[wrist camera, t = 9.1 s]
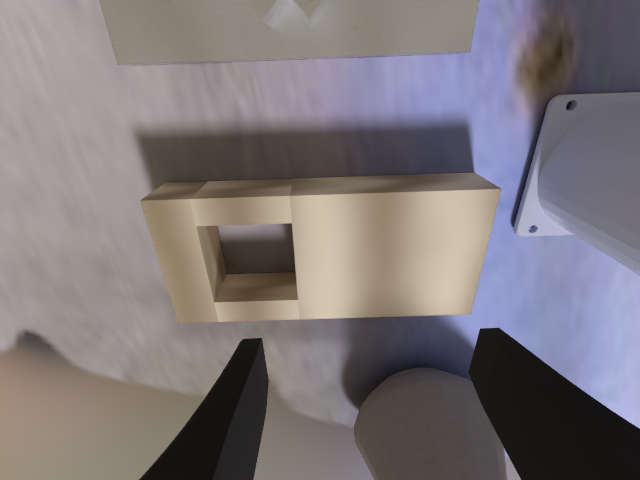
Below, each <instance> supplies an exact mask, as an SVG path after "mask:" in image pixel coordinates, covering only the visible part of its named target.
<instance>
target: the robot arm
mask: <svg viewBox="0 0 640 480" xmlns="http://www.w3.org/2000/svg"><path fill="white" fill-rule="evenodd" d="M570 101H571V102H572V103H571V106H570V108H569V109H568V110H567V109H566V105H567V104H568V102H570ZM533 225H534V227H533V228H532V229H531V230H529V228H530V227H531V226H533ZM514 232H515V233H516V234H517V235H519V236H550V235H575V236H577V237H579V238H580V239H582V240H584V241H585V242H587V243H588V244H590V245H592V246H593V247H595V248H596V249H598V250H600V251H601V252H603V253H604V254H606V255H608V256H609V257H611V258H613V259H614V260H616V261H617V262H619V263H621V264H622V265H624V266H625V267H627V268H629V269H630V270H632V271H633V272H635V273H637V274H638V275H640V92H625V93H597V94H568V95H557V96H555V97H554V98H552V99H551V100H550V102H549V104H548V106H547V109H546V113H545V117H544V120H543V124H542V127H541V131H540V135H539V138H538V142H537V145H536V149H535V153H534V156H533V160H532V163H531V167H530V171H529V174H528V178H527V181H526V185H525V189H524V192H523V196H522V199H521V203H520V207H519V210H518V214H517V217H516V221H515V224H514ZM469 374H470V377H471V379H472V382H473V385H474V388H475V390H476V393H477V395H478V398H479V400H480V402H481V405H482V407H483V409H484V410H485V412H486V414H487V416H488V418H489V420H490V422H491V424H492V426H493V428H494V430H495V431H496V433H497V435H498V437H499V439H500V441H501V443H502V444H503V446H504V448H505V450H506V452H507V454H508V456H509V458H510V459H511V461H512V463H513V465H514V467H515V469H516V470H517V473H518V474H519V476H520V478H521V480H640V429H639V428H638V427H636V426H634V425H633V424H631V423H630V422H628V421H627V420H625V419H624V418H622V417H620V416H619V415H617V414H616V413H614V412H613V411H611V410H610V409H608V408H607V407H606V406H604V405H603V404H601V403H600V402H598V401H597V400H595V399H594V398H592V397H591V396H590V395H588V394H587V393H585V392H584V391H582V390H581V389H580V388H578V387H577V386H575V385H574V384H573V383H571V382H570V381H569V380H567V379H566V378H564V377H563V376H562V375H560V374H559V373H558V372H556V371H555V370H554V369H552V368H551V367H550V366H548V365H547V364H546V363H544V362H543V361H542V360H541V359H539V358H538V357H537V356H535V355H534V354H533V353H531V352H530V351H529V350H527V349H526V348H525V347H524V346H522V345H521V344H520V343H518V342H517V341H516V340H514V339H513V338H512V337H510V336H509V335H508V334H506V333H505V332H504V331H502V330H501V329H499V328H485V329H480V331H479V335H478V339H477V343H476V347H475V350H474V354H473V358H472V362H471V365H470V369H469ZM268 382H269V381H268V374H267V368H266V361H265V355H264V349H263V342H262V338H253V339H243V340H242V341H241V342H240V343H239V345H238V347H237V349H236V350H235V352H234V354H233V356H232V357H231V359H230V361H229V362H228V364H227V365H226V367H225V369H224V370H223V372H222V373H221V375H220V377H219V378H218V380H217V381H216V383H215V384H214V385H213V387H212V388H211V390H210V391H209V393H208V394H207V396H206V397H205V399H204V400H203V402H202V403H201V405H200V406H199V407H198V409H197V410H196V411H195V412H194V414H193V415H192V417H191V418H190V419H189V421H188V422H187V423H186V425H185V426H184V427H183V429H182V430H181V431H180V432H179V434H178V435H177V436H176V438H175V439H174V440H173V441H172V442H171V444H170V445H169V446H168V448H167V449H166V450H165V451H164V452H163V454H161V456H160V457H159V458H158V459H157V460H156V462H155V463H154V464H153V465H152V466H151V467H150V468H149V470H148V471H147V472H146V473H145V474H144V475H143V476H142V477H141V478H140V479H139V480H253V478H254V473H255V468H256V463H257V457H258V452H259V447H260V442H261V436H262V431H263V426H264V420H265V415H266V406H267V394H268Z"/></svg>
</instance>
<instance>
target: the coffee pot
mask: <svg viewBox="0 0 640 480" xmlns="http://www.w3.org/2000/svg"><path fill="white" fill-rule="evenodd" d="M354 436H355V442H356V445H357V447H358V449H359V451H360V453H361V455H362V457H363V459H364V460H365V462H366V464H367V466H368V468H369V470H370V472H371V474H372V476H373V477H374V479H375V480H507V475H506V463H505V452H504V446H503V444H502V443H501V441H500V439H499V437H498V435H497V433H496V431H495V430H494V428H493V426H492V424H491V422H490V420H489V418H488V416H487V414H486V412H485V410H484V409H483V407H482V405H481V402H480V400H479V398H478V395H477V393H476V390H475V388H474V385H473V382H472V381H470V380H468V379H467V378H464V377H461V376H458V375H455V374H452V373H449V372H445V371H442V370H439V369H436V368H426V367H422V368H411V369H407V370H404V371H400V372H397V373H395V374H393V375H391V376H389V377H388V378H386V379H385V380H384V381H383V382H381V383H380V384H379V386H378V387H377V388H376V389H374V390H373V391H372V392H371V393H370V394H369V396H368V397H367V398H366V400H365V401H364V402H363V404H362V405H361V407H360V410H359V413H358V416H357V419H356V422H355V425H354Z"/></svg>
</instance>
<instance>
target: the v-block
mask: <svg viewBox="0 0 640 480" xmlns="http://www.w3.org/2000/svg"><path fill="white" fill-rule="evenodd" d="M99 1H100V5H101V8H102V12H103V15H104V19H105V22H106V26H107V29H108V33H109V36H110V40H111V43H112V47H113V50H114V54H115V57H116V61H117V64H118V65H132V66H138V65H165V64H193V63H220V62H248V61H275V60H302V59H330V58H357V57H385V56H412V55H440V54H460V53H466V52H471V46H472V40H473V34H474V27H475V21H476V15H477V9H478V3H479V0H99Z"/></svg>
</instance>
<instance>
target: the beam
mask: <svg viewBox="0 0 640 480" xmlns="http://www.w3.org/2000/svg"><path fill="white" fill-rule="evenodd" d="M500 192H501V189H500V188H499V187H497V186H496V185H494V184H492V183H491V182H489V181H488V180H486V179H484V178H483V177H481V176H479V175H478V174H476V173H475V172H474V173H444V174H414V175H383V176H353V177H323V178H292V179H262V180H232V181H202V182H171V183H165V184H163V185H162V186H160V187H159V188H157V189H156V190H155V191H153V192H152V193H150V194H149V195H148V196H146V197H145V198H143V199H142V200H140V202H141V205H142V208H143V211H144V215H145V218H146V221H147V224H148V227H149V231H150V234H151V237H152V240H153V243H154V247H155V250H156V253H157V256H158V259H159V263H160V266H161V269H162V272H163V275H164V279H165V282H166V285H167V288H168V291H169V295H170V298H171V301H172V304H173V307H174V311H175V314H176V317H177V320H178V323H192V322H227V321H261V320H296V319H330V318H365V317H399V316H434V315H468V314H471V311H472V307H473V303H474V299H475V295H476V291H477V287H478V283H479V278H480V274H481V270H482V266H483V262H484V258H485V254H486V250H487V245H488V241H489V237H490V233H491V229H492V225H493V221H494V217H495V213H496V208H497V204H498V200H499V196H500ZM284 223H292V231H293V244H294V256H295V268H296V272H285V273H253V274H227V272H226V267H225V262H224V257H223V252H222V247H221V242H220V237H219V232H218V227H217V226H221V225H252V224H284Z"/></svg>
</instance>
